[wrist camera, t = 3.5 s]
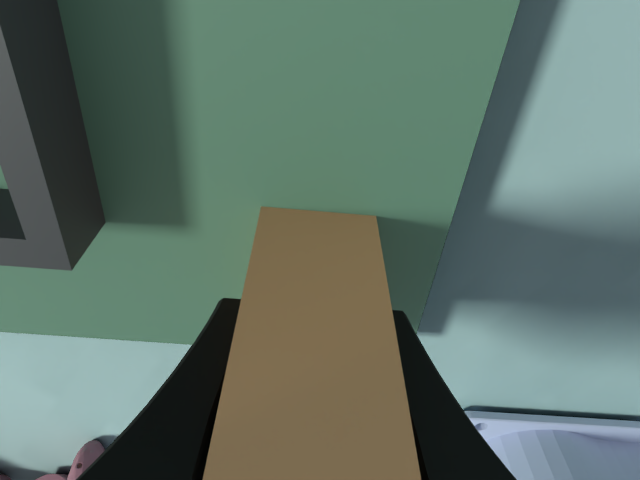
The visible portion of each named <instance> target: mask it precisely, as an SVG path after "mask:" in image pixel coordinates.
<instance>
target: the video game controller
mask: <svg viewBox="0 0 640 480" xmlns="http://www.w3.org/2000/svg"><path fill="white" fill-rule="evenodd" d="M104 451H105V448H104V447H103V446H102V444H101V443H100V442H99V441H96V440H92V441H89V442H88V443H86V444H85V445H84V446H83V447H82V448H81V449H80V451H79V452H78V453H77V455H76V457H75V459H74V461H73V464H72V466H71V469H70V472H69V475H67V474H47V475H44V476H41V477H39V478H37V479H36V480H76V479H77V478H78V477H79V476H80V475H81V474H82V473H83V472H84V471H85V470H86V469H87V468H88V467H89V466H90V465H91V464H92V463H93V462H94V461H95V460H96V459H97V458H98V457H99V456H100V455H101V454H102V453H103V452H104ZM0 480H11V478H9V477H8V476H7V475H3V474H0Z"/></svg>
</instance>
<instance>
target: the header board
mask: <svg viewBox="0 0 640 480" xmlns="http://www.w3.org/2000/svg"><path fill="white" fill-rule="evenodd" d="M519 3H520V0H0V332H11V333H26V334H41V335H56V336H71V337H86V338H101V339H115V340H130V341H145V342H160V343H175V344H190V345H193V343H194V342H195V340H196V339H197V337H198V336H199V334H200V332H201V331H202V329H203V328H204V326H205V325H206V323H207V321H208V320H209V318H210V316H211V315H212V313H213V311H214V309H215V307H216V305H217V304H218V302H219V301H220V300H221V299H222V298H234V299H241V298H242V293H243V288H244V284H245V279H246V274H247V270H248V265H249V260H250V256H251V251H252V246H253V242H254V237H255V232H256V228H257V223H258V218H259V214H260V209H261V206H262V207H274V208H286V209H298V210H310V211H323V212H335V213H347V214H359V215H371V216H376V219H377V224H378V230H379V236H380V242H381V248H382V254H383V259H384V265H385V271H386V277H387V283H388V289H389V294H390V300H391V306H392V310H400V311H403V312H404V313H405V314H406V315H407V317H408V319H409V321H410V323H411V325H412V327H413V329H414V331H415V333H416V334H417V330H418V327H419V324H420V321H421V317H422V314H423V311H424V308H425V305H426V301H427V298H428V295H429V292H430V289H431V285H432V282H433V279H434V276H435V272H436V269H437V266H438V263H439V260H440V256H441V253H442V250H443V247H444V244H445V240H446V237H447V234H448V231H449V228H450V224H451V221H452V218H453V215H454V211H455V208H456V205H457V202H458V199H459V195H460V192H461V189H462V186H463V183H464V179H465V176H466V173H467V170H468V167H469V163H470V160H471V157H472V154H473V150H474V147H475V144H476V141H477V138H478V134H479V131H480V128H481V125H482V122H483V118H484V115H485V112H486V109H487V106H488V102H489V99H490V96H491V93H492V89H493V86H494V83H495V80H496V77H497V73H498V70H499V67H500V64H501V61H502V57H503V54H504V51H505V48H506V44H507V41H508V38H509V35H510V32H511V28H512V25H513V22H514V19H515V16H516V12H517V9H518V6H519Z"/></svg>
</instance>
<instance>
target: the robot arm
mask: <svg viewBox="0 0 640 480" xmlns="http://www.w3.org/2000/svg"><path fill="white" fill-rule="evenodd" d="M240 302H241V299H234V298H222V299H221V300H220V301H219V302H218V304H217V305H216V307H215V309H214V311H213V313H212V315H211V316H210V318H209V320H208V321H207V323H206V325H205V326H204V328H203V329H202V331H201V332H200V334H199V336H198V337H197V339H196V340H195V342H194V343H193V345H192V346H191V347H190V349H189V350H188V352H187V353H186V354H185V356H184V357H183V359H182V360H181V361H180V363H179V364H178V366H177V367H176V368H175V370H174V371H173V372H172V374H171V375H170V376H169V378H168V379H167V380H166V381H165V383H164V384H163V385H162V386H161V388H160V389H159V390H158V391H157V393H156V394H155V395H154V396H153V397H152V399H151V400H150V401H149V402H148V404H147V405H146V406H145V407H144V408H143V410H142V411H141V412H140V413H139V414H138V415H137V416H136V418H135V419H134V420H133V421H132V422H131V423H130V424H129V426H128V427H127V428H126V429H125V430H124V431H123V432H122V433H121V434H120V435H119V436H118V437H117V438H116V440H115V441H114V442H113V443H112V444H111V445H110V446H109V447H108V448H107V449H106V450H105V451H104V452H103V453H102V454H101V455H100V456H99V457H98V458H97V459H96V460H95V461H94V462H93V463H92V464H91V465H90V466H89V467H88V468H87V469H86V470H85V471H84V472H83V473H82V474H81V475H80V476H79V477H78V478H77V479H76V480H203V475H204V470H205V466H206V461H207V456H208V452H209V447H210V442H211V438H212V433H213V428H214V424H215V419H216V414H217V410H218V405H219V400H220V396H221V391H222V386H223V382H224V377H225V372H226V368H227V363H228V358H229V354H230V349H231V344H232V340H233V335H234V330H235V326H236V321H237V316H238V312H239V307H240ZM392 312H393V318H394V324H395V329H396V335H397V341H398V347H399V353H400V359H401V364H402V370H403V376H404V382H405V388H406V394H407V399H408V405H409V411H410V417H411V423H412V429H413V435H414V440H415V446H416V452H417V458H418V464H419V470H420V475H421V480H640V421H628V420H612V419H596V418H579V417H563V416H547V415H531V414H515V413H499V412H483V411H463V409H462V408H461V406H460V405H459V403H458V402H457V400H456V399H455V397H454V396H453V394H452V393H451V391H450V390H449V388H448V387H447V385H446V383H445V382H444V380H443V379H442V377H441V376H440V374H439V372H438V371H437V369H436V368H435V366H434V364H433V363H432V361H431V359H430V358H429V356H428V354H427V352H426V351H425V349H424V347H423V345H422V344H421V342H420V340H419V338H418V336H417V335H416V333H415V331H414V329H413V327H412V325H411V323H410V321H409V319H408V317H407V315H406V314H405V313H404V312H403V311H400V310H392Z"/></svg>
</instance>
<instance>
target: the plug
mask: <svg viewBox="0 0 640 480" xmlns="http://www.w3.org/2000/svg"><path fill="white" fill-rule="evenodd" d="M203 480H421V475H420V470H419V464H418V458H417V452H416V446H415V440H414V435H413V429H412V423H411V417H410V411H409V405H408V399H407V394H406V388H405V382H404V376H403V370H402V364H401V359H400V353H399V347H398V341H397V335H396V329H395V324H394V318H393V312H392V306H391V300H390V294H389V289H388V283H387V277H386V271H385V265H384V259H383V254H382V248H381V242H380V236H379V230H378V224H377V219H376V216H371V215H359V214H347V213H335V212H323V211H310V210H298V209H286V208H274V207H262V206H261V209H260V214H259V218H258V223H257V228H256V232H255V237H254V242H253V246H252V251H251V256H250V260H249V265H248V270H247V274H246V279H245V284H244V288H243V293H242V298H241V302H240V307H239V312H238V316H237V321H236V326H235V330H234V335H233V340H232V344H231V349H230V354H229V358H228V363H227V368H226V372H225V377H224V382H223V386H222V391H221V396H220V400H219V405H218V410H217V414H216V419H215V424H214V428H213V433H212V438H211V442H210V447H209V452H208V456H207V461H206V466H205V470H204V475H203Z"/></svg>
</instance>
